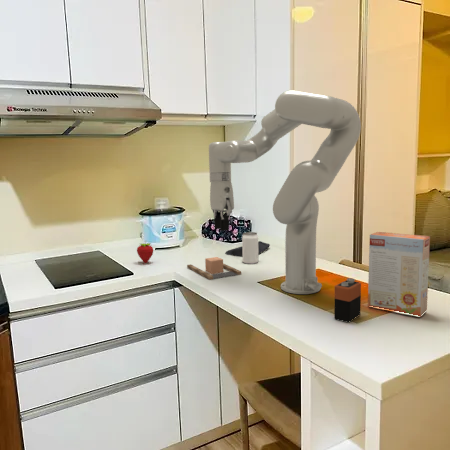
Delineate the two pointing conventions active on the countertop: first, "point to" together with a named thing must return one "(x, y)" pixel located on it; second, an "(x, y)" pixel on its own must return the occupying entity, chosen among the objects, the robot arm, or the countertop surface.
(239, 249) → the dark slate chunk
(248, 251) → the can
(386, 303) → the cracker box
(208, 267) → the block
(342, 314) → the battery
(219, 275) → the channel
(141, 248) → the strawberry
